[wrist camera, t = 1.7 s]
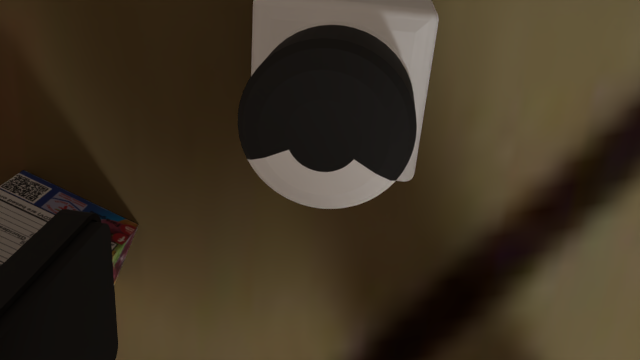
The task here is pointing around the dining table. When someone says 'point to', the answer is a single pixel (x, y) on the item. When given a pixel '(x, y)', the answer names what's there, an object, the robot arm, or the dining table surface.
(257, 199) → the dining table surface
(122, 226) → the juice carton
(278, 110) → the medicine bottle
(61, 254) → the robot arm
